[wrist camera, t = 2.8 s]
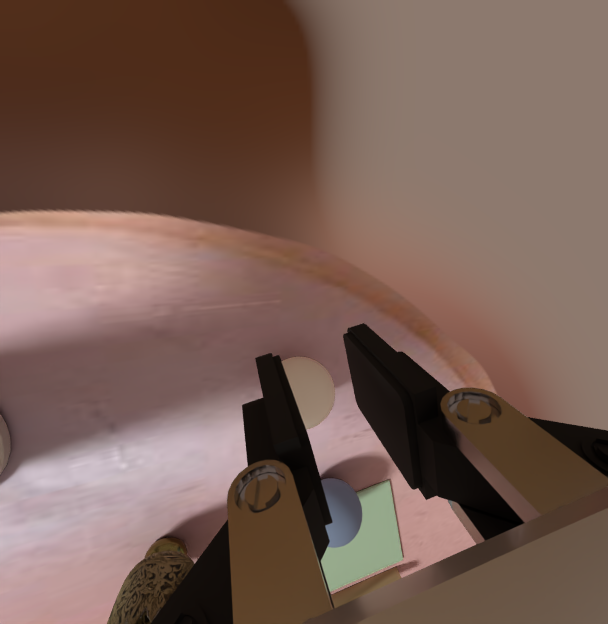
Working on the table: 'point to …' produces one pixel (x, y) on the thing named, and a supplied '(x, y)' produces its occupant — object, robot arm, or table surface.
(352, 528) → the object ball
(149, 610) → the cup
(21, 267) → the table surface
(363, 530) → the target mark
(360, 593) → the stop rail
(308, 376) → the cream ball
